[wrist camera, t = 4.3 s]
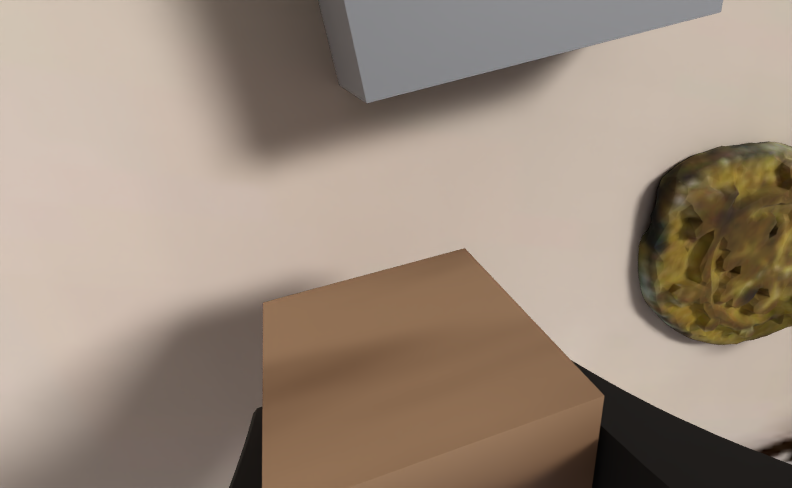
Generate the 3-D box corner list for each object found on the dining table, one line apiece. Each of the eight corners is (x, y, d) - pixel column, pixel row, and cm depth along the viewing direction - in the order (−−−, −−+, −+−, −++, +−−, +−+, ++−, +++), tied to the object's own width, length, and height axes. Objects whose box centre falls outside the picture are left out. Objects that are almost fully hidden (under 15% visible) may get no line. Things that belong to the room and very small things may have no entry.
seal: (562, 260, 19) (721, 349, 26) (633, 331, 15) (799, 414, 22) (728, 73, 16) (862, 228, 22) (871, 102, 12) (983, 280, 18)
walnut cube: (475, 389, 13) (580, 568, 9) (313, 443, 12) (341, 672, 8) (464, 248, 11) (604, 395, 6) (263, 302, 10) (261, 519, 5)
